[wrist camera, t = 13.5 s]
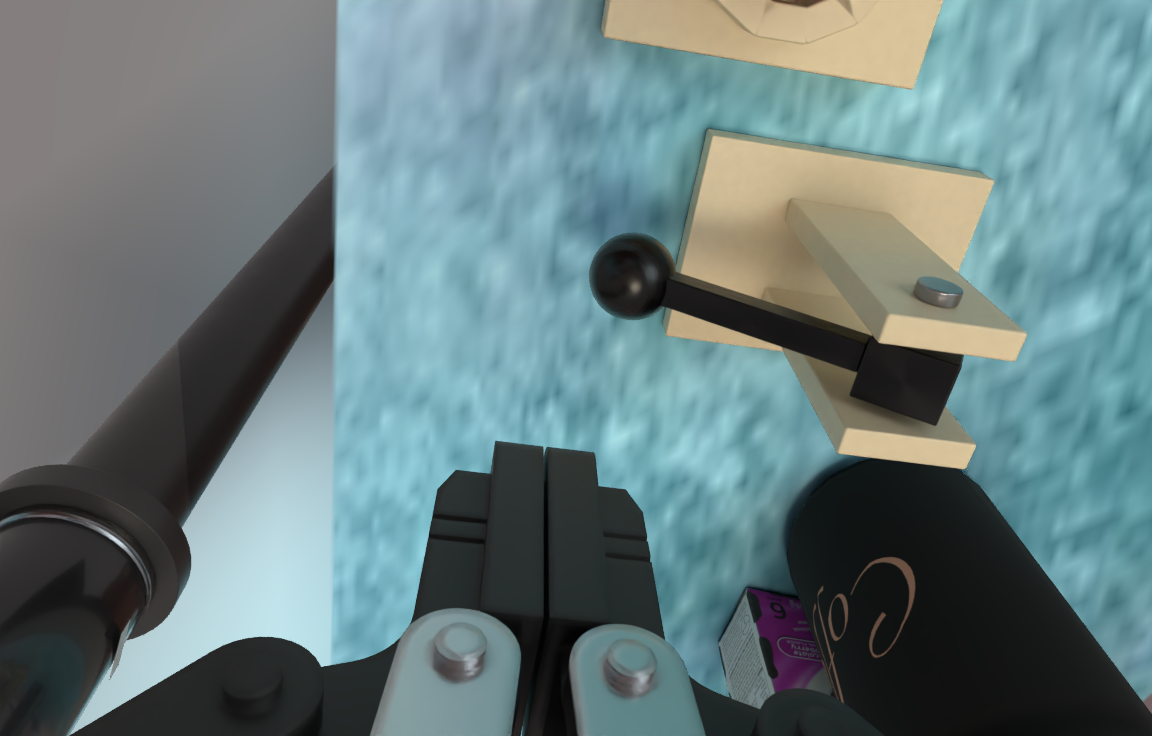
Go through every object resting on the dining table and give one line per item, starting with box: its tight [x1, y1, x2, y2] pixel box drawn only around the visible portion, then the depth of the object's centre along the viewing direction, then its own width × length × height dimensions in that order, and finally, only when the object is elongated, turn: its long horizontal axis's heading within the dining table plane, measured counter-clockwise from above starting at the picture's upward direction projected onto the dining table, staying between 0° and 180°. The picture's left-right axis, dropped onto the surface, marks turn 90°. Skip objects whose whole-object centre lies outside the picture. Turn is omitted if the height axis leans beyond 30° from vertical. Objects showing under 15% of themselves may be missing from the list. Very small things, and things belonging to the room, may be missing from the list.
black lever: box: [589, 233, 964, 426], centre depth 29 cm, size 13×3×3 cm, turn 82°
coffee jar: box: [787, 458, 1152, 736], centre depth 37 cm, size 11×11×18 cm
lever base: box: [663, 129, 1027, 469], centre depth 31 cm, size 12×9×13 cm
